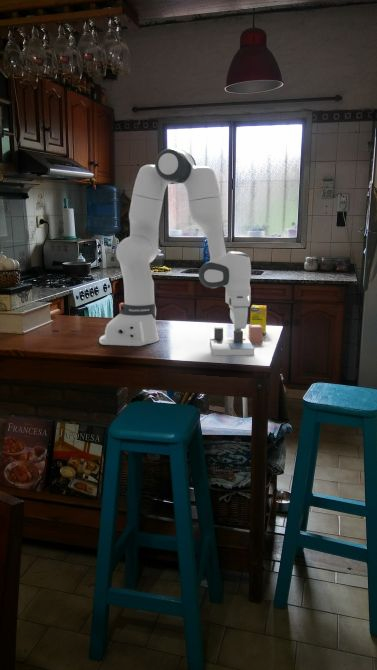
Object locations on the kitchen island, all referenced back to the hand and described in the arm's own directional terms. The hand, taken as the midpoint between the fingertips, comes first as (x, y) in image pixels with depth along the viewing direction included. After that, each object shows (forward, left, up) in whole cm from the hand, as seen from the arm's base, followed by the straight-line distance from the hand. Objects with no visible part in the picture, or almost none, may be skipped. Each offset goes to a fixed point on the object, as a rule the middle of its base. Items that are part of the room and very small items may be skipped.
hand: (237, 335), depth 193 cm
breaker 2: (0, -3, -2) cm, 3 cm away
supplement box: (+10, +20, -4) cm, 23 cm away
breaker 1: (-7, +2, -2) cm, 7 cm away
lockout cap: (+7, +6, -4) cm, 11 cm away
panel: (-3, -4, -4) cm, 6 cm away
